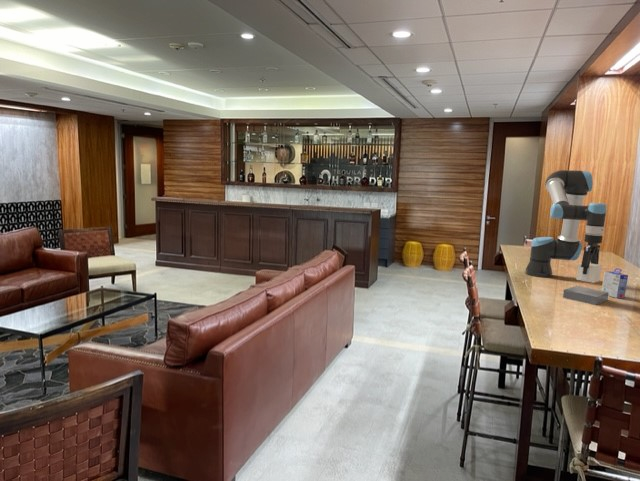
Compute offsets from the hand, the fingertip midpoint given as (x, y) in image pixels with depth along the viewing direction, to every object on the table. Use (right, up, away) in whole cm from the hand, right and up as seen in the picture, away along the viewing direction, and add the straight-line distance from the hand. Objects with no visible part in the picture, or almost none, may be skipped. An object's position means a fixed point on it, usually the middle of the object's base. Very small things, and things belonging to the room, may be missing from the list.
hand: (587, 279), depth 227 cm
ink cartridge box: (+19, -10, +10) cm, 23 cm away
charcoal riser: (0, -10, +2) cm, 10 cm away
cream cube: (0, 0, 0) cm, 0 cm away
